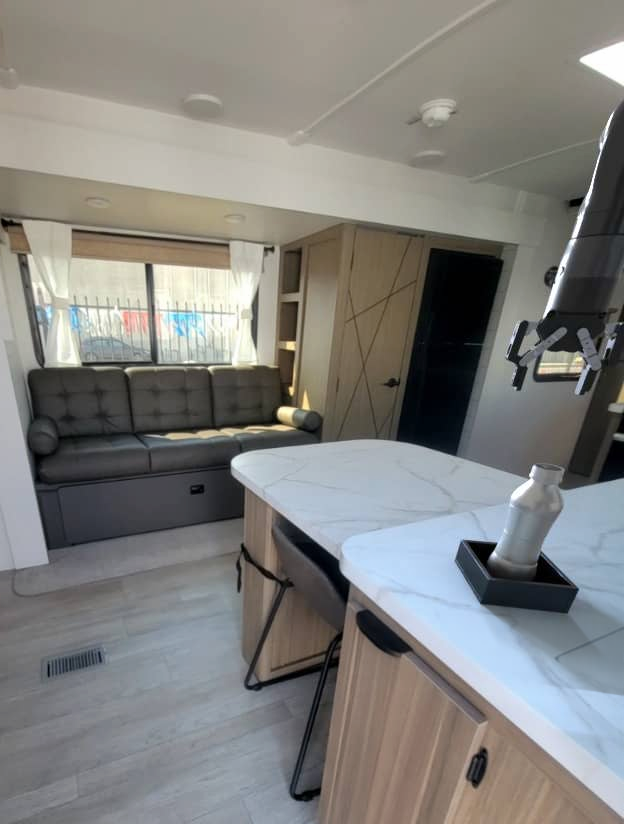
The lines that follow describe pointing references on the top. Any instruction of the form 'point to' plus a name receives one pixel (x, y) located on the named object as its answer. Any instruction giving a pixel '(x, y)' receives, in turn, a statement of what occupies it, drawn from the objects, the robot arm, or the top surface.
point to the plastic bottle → (528, 524)
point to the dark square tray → (515, 581)
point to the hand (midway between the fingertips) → (547, 392)
